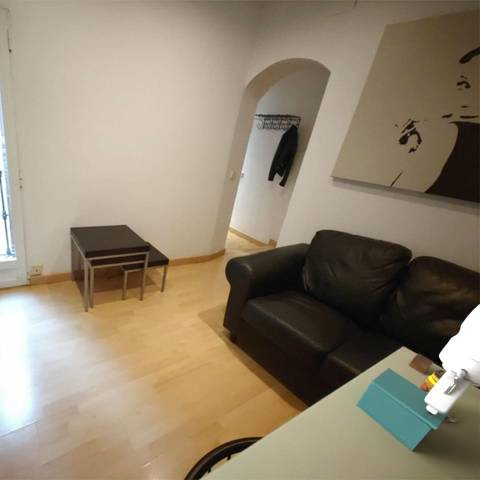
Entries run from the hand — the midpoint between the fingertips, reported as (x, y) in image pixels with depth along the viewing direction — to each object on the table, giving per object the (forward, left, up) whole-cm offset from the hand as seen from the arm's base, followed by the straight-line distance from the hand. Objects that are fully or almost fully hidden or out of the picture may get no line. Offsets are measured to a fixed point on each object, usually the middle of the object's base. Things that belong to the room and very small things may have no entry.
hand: (435, 405), depth 63 cm
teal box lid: (+4, 0, -2) cm, 5 cm away
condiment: (+1, -16, -12) cm, 20 cm away
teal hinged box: (+5, 0, -11) cm, 12 cm away
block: (+8, -33, -11) cm, 36 cm away
